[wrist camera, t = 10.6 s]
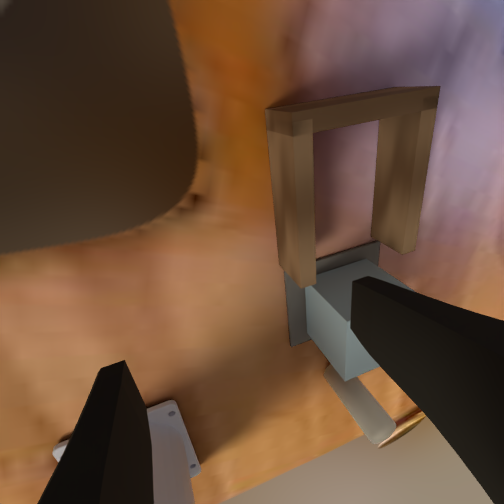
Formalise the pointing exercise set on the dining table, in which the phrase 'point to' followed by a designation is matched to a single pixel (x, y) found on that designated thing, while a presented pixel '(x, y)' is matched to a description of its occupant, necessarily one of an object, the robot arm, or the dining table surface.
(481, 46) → the dining table surface
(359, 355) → the pull block
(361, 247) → the mat
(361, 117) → the wooden arch frame
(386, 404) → the dining table surface
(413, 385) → the robot arm
